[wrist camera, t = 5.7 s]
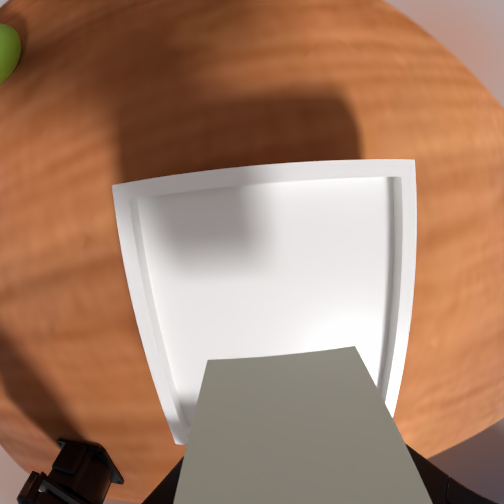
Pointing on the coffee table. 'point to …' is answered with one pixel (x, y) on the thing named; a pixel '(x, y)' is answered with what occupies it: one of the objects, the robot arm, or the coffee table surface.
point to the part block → (295, 435)
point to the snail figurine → (8, 51)
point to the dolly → (269, 268)
